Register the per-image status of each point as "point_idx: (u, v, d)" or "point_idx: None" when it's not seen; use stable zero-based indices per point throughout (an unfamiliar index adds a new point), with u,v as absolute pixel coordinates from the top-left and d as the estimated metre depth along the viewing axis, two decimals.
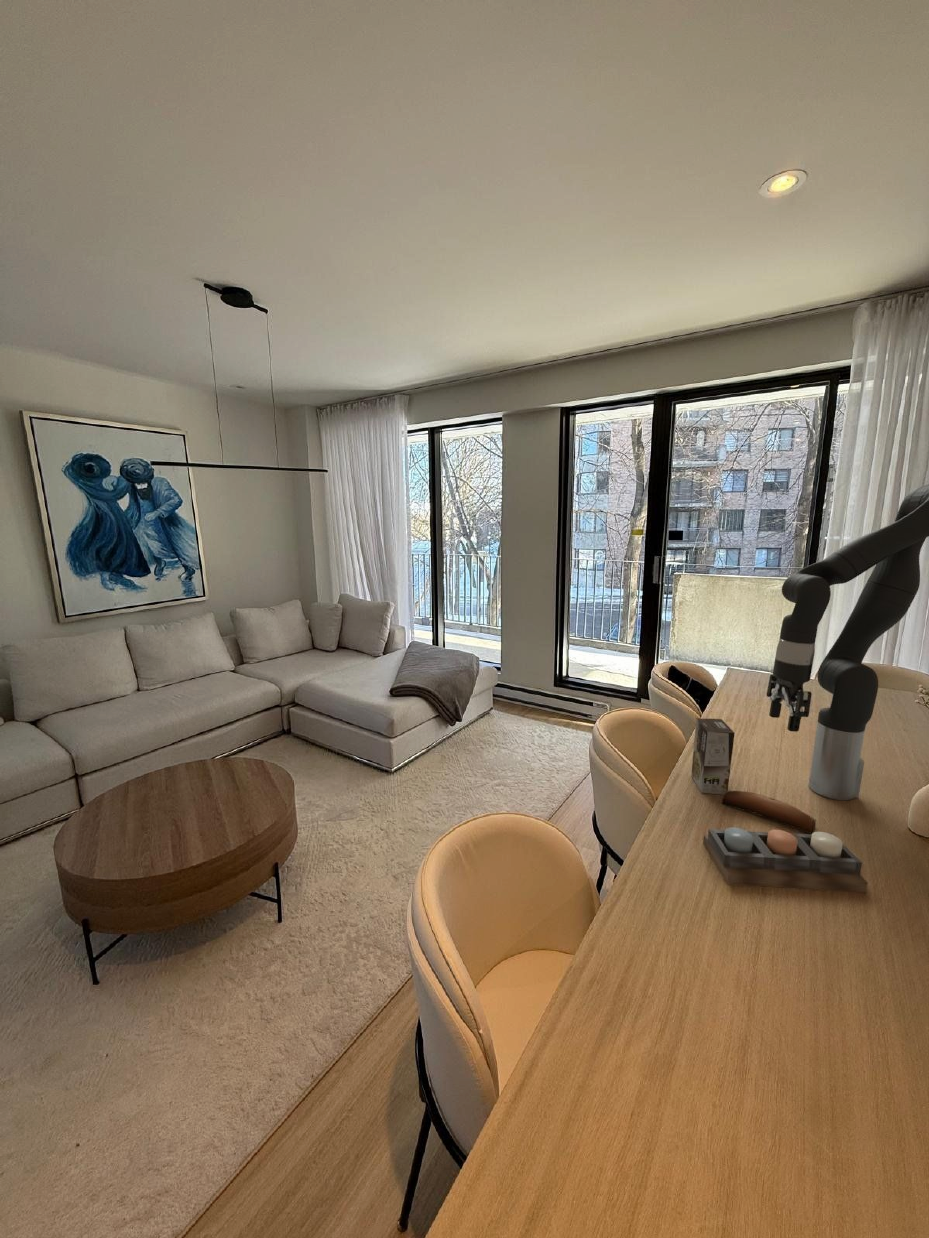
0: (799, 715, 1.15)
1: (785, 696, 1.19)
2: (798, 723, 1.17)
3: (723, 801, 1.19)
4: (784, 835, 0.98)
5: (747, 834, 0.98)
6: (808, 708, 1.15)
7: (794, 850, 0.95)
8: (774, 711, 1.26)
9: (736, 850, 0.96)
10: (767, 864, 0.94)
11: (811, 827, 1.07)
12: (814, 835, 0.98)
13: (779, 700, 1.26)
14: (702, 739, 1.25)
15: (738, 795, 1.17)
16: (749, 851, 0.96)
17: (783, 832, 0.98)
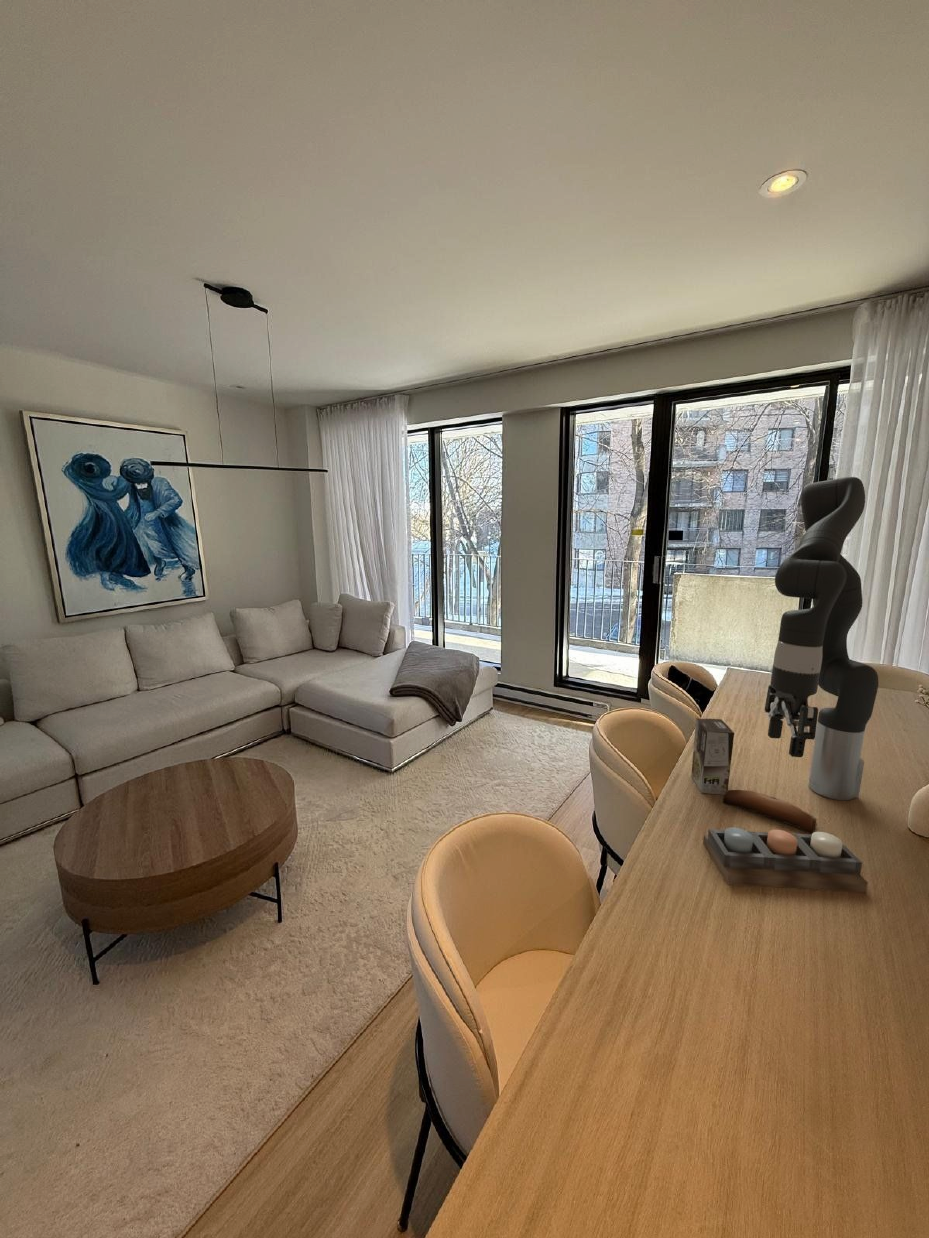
0: (803, 737, 0.91)
1: (786, 712, 0.96)
2: (802, 747, 0.93)
3: (724, 800, 1.19)
4: (784, 835, 0.98)
5: (747, 834, 0.98)
6: (814, 729, 0.91)
7: (794, 850, 0.95)
8: (774, 730, 1.03)
9: (736, 850, 0.96)
10: (767, 864, 0.94)
11: (811, 826, 1.08)
12: (814, 835, 0.98)
13: (780, 717, 1.02)
14: (701, 739, 1.25)
15: (739, 794, 1.18)
16: (749, 851, 0.96)
17: (783, 832, 0.98)
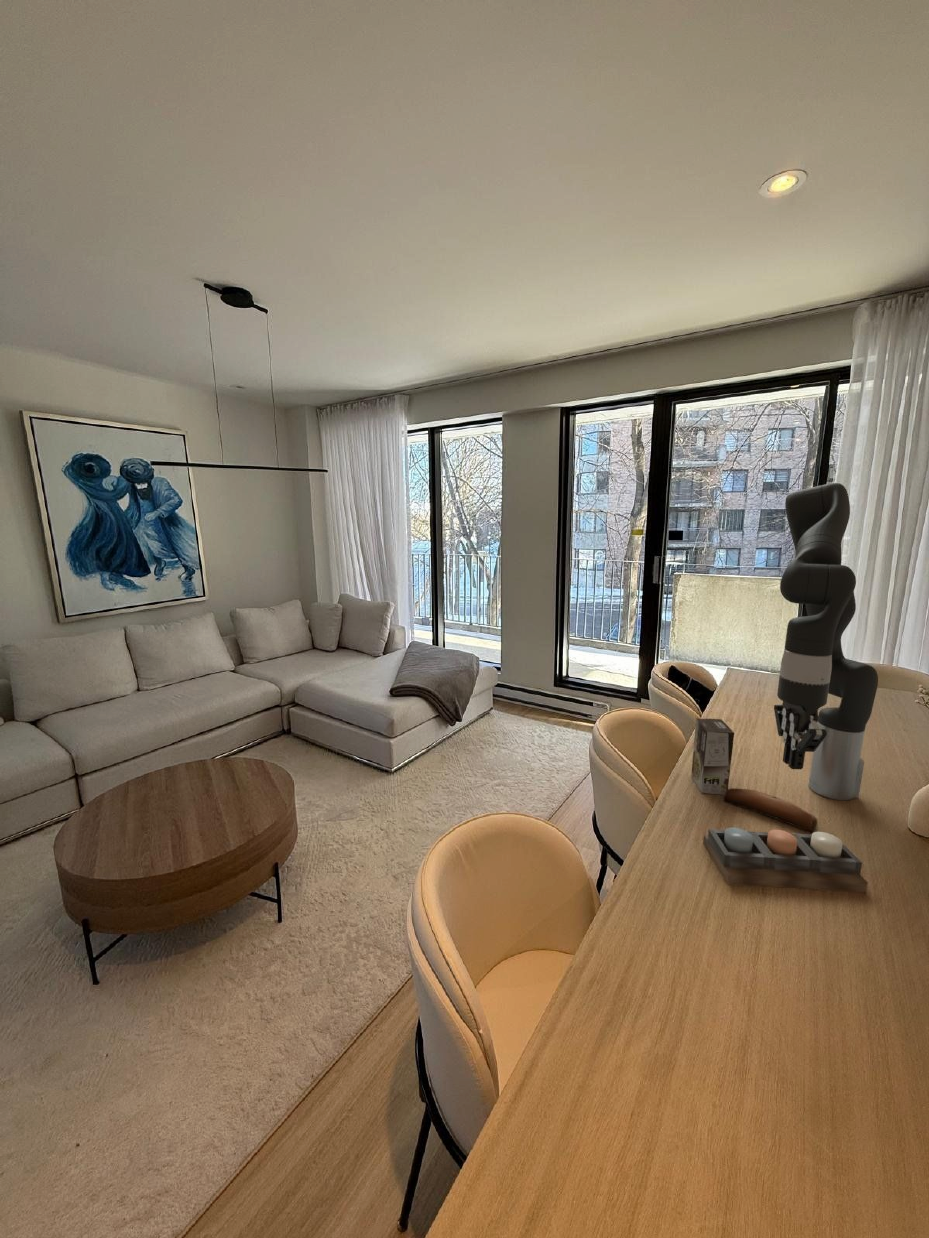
0: (803, 750, 0.90)
1: (791, 725, 0.92)
2: (802, 759, 0.92)
3: (725, 798, 1.20)
4: (784, 835, 0.98)
5: (747, 834, 0.98)
6: (816, 746, 0.89)
7: (794, 850, 0.95)
8: (789, 756, 0.95)
9: (736, 850, 0.96)
10: (767, 864, 0.94)
11: (811, 825, 1.08)
12: (814, 835, 0.98)
13: None
14: (701, 739, 1.25)
15: (740, 793, 1.18)
16: (749, 851, 0.96)
17: (783, 832, 0.98)
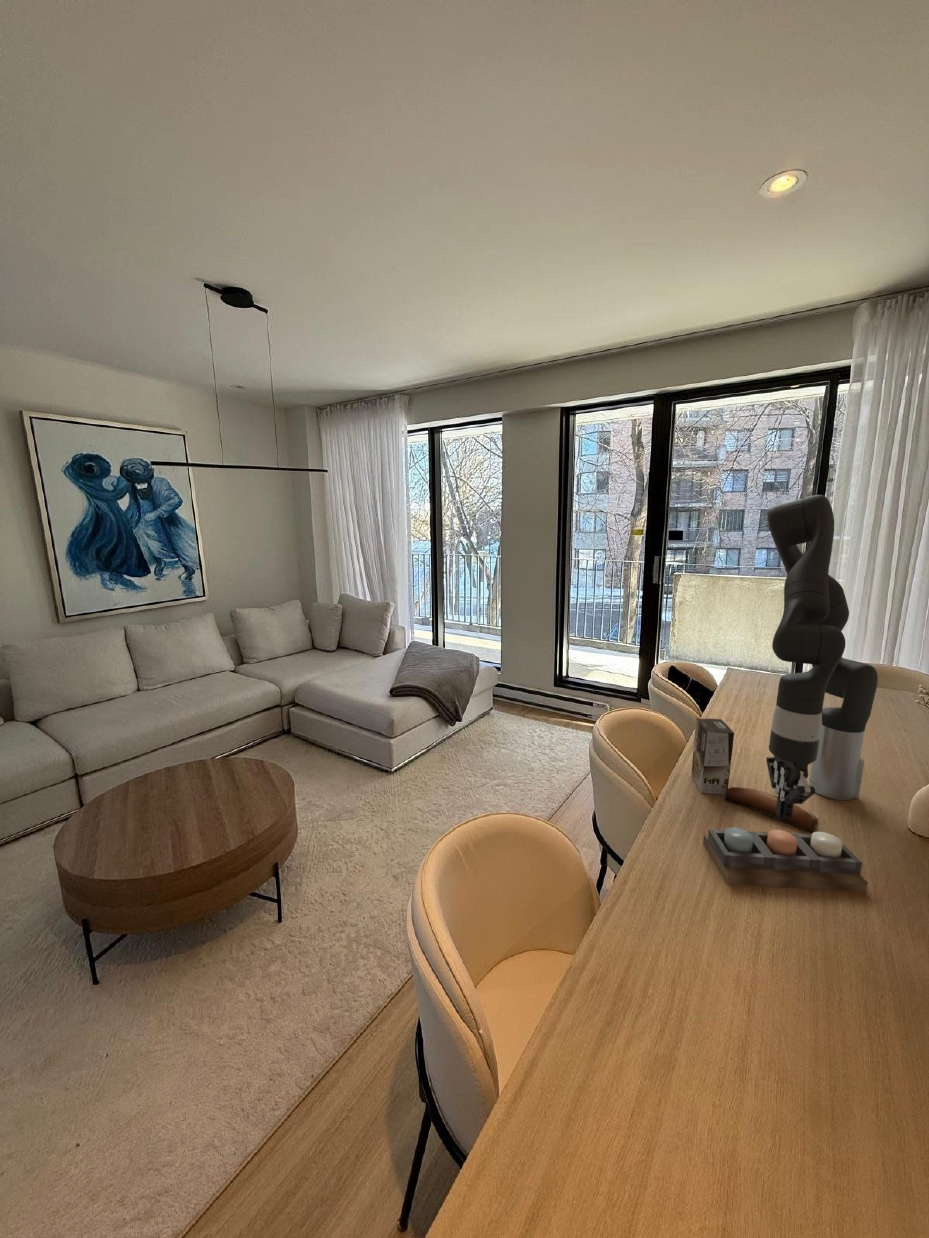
0: (791, 802, 0.92)
1: (782, 778, 0.94)
2: (790, 810, 0.95)
3: (726, 797, 1.20)
4: (784, 835, 0.98)
5: (747, 834, 0.98)
6: (804, 800, 0.91)
7: (794, 850, 0.95)
8: None
9: (736, 850, 0.96)
10: (767, 864, 0.94)
11: (811, 825, 1.08)
12: (814, 835, 0.98)
13: (788, 792, 0.96)
14: (701, 739, 1.25)
15: (740, 792, 1.19)
16: (749, 851, 0.96)
17: (783, 832, 0.98)
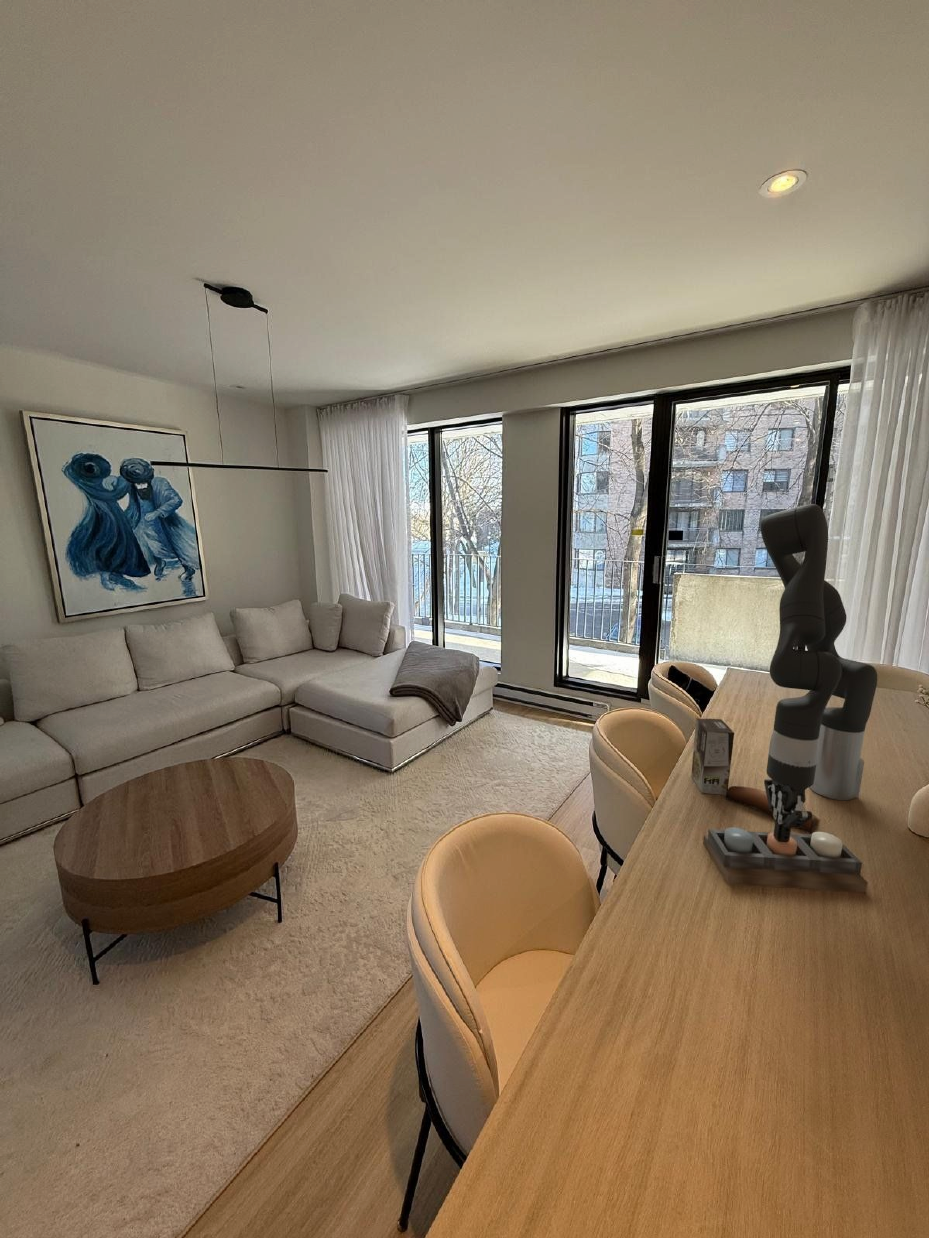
0: (788, 826, 0.93)
1: (779, 801, 0.95)
2: (788, 833, 0.95)
3: (727, 795, 1.21)
4: None
5: (747, 834, 0.98)
6: (802, 824, 0.92)
7: (794, 853, 0.95)
8: None
9: (736, 850, 0.96)
10: (767, 864, 0.94)
11: (810, 825, 1.08)
12: (814, 835, 0.98)
13: (785, 815, 0.97)
14: (701, 739, 1.25)
15: (741, 791, 1.19)
16: (749, 851, 0.96)
17: None
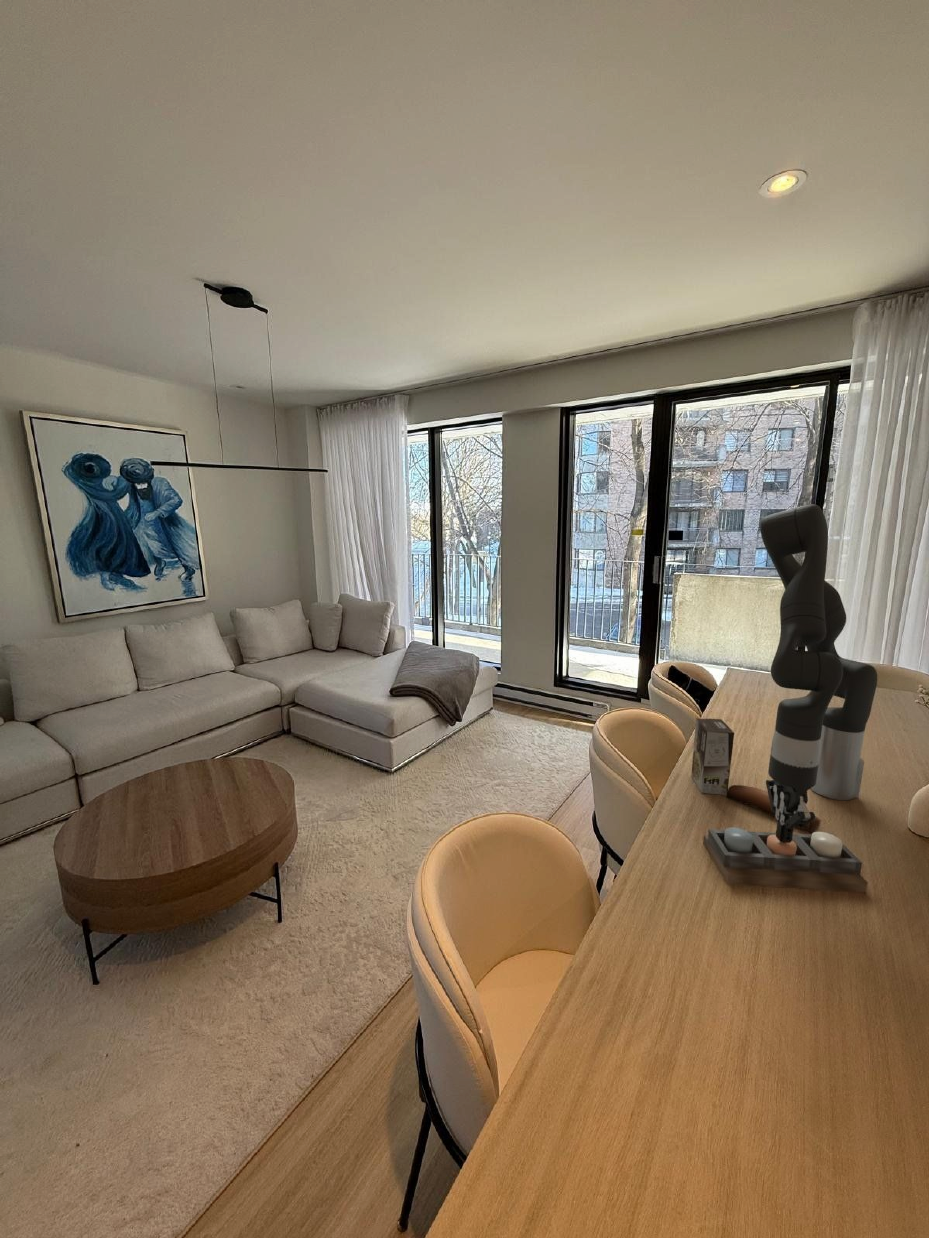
0: (791, 826, 0.93)
1: (782, 802, 0.95)
2: (790, 834, 0.95)
3: (728, 794, 1.22)
4: None
5: (747, 834, 0.98)
6: (804, 825, 0.92)
7: None
8: None
9: (736, 850, 0.96)
10: (767, 864, 0.94)
11: (809, 825, 1.08)
12: (814, 835, 0.98)
13: (788, 816, 0.97)
14: (701, 739, 1.25)
15: (742, 789, 1.20)
16: (749, 851, 0.96)
17: None
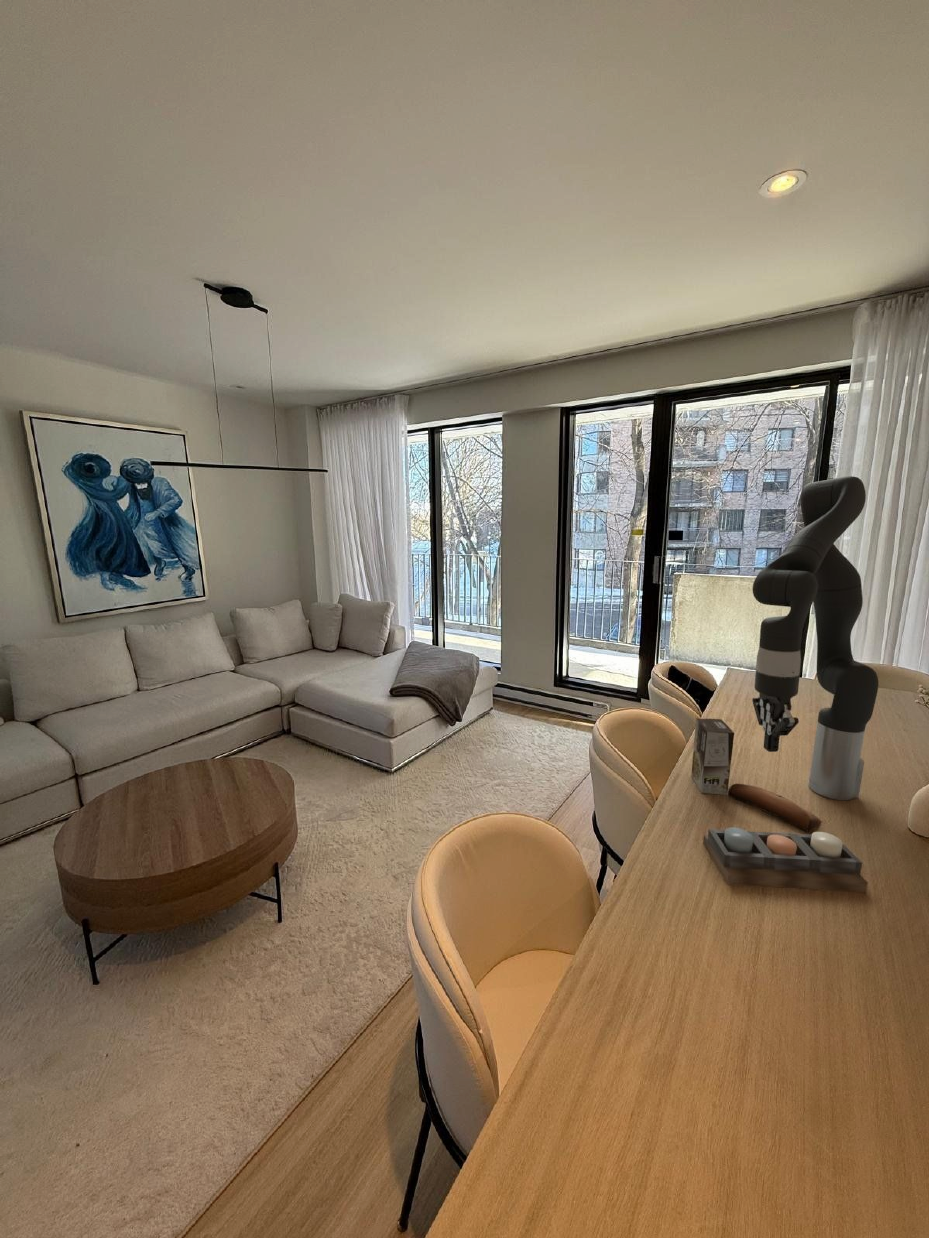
0: (777, 734, 1.01)
1: (768, 713, 1.03)
2: (777, 742, 1.03)
3: (729, 792, 1.22)
4: (783, 840, 0.98)
5: (747, 834, 0.98)
6: (789, 731, 1.00)
7: None
8: None
9: (736, 850, 0.96)
10: (767, 864, 0.94)
11: (807, 824, 1.08)
12: (814, 835, 0.98)
13: (774, 727, 1.05)
14: (701, 739, 1.25)
15: (743, 788, 1.20)
16: (749, 851, 0.96)
17: (782, 837, 0.99)
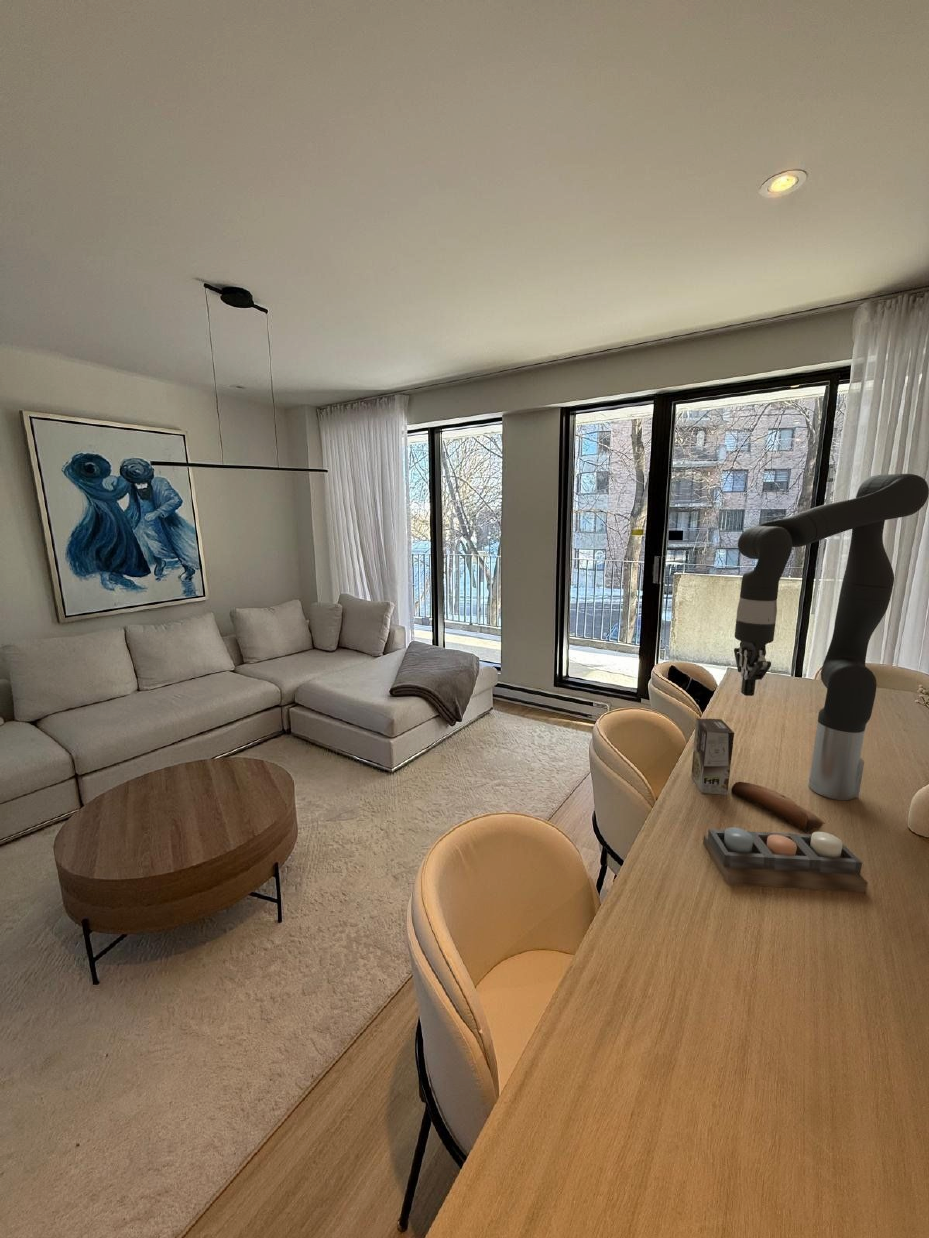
0: (752, 678, 1.10)
1: (745, 659, 1.12)
2: (753, 687, 1.13)
3: (732, 790, 1.23)
4: (783, 840, 0.98)
5: (747, 834, 0.98)
6: (763, 675, 1.09)
7: None
8: None
9: (736, 850, 0.96)
10: (767, 864, 0.94)
11: (805, 824, 1.08)
12: (814, 835, 0.98)
13: None
14: (701, 739, 1.25)
15: (746, 786, 1.21)
16: (749, 851, 0.96)
17: (782, 837, 0.99)
